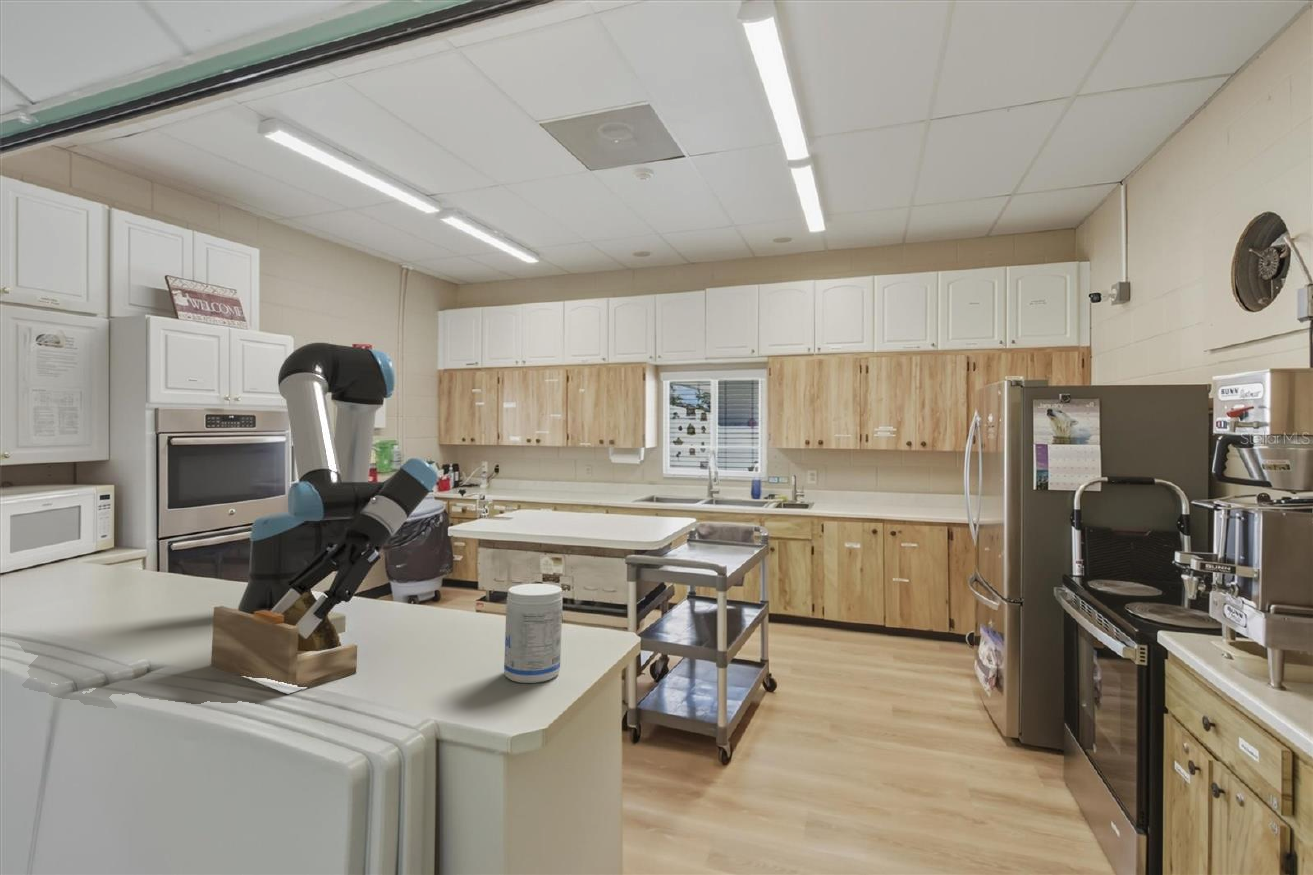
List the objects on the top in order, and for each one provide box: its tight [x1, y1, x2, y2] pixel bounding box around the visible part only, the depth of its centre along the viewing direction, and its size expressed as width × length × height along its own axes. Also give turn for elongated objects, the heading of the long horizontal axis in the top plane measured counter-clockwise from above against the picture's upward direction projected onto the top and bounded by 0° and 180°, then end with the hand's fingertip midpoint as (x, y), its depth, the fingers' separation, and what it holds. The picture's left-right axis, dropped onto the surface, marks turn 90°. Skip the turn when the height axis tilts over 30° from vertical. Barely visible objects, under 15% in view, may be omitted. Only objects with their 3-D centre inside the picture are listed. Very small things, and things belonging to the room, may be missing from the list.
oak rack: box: [210, 605, 358, 689], centre depth 102 cm, size 11×25×11 cm, turn 60°
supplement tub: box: [503, 583, 563, 684], centre depth 102 cm, size 10×10×15 cm
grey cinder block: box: [327, 610, 347, 635], centre depth 126 cm, size 7×4×18 cm
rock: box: [282, 592, 342, 652], centre depth 101 cm, size 11×9×10 cm
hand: (283, 629), depth 97 cm, fingers closed on rock, 9 cm apart
